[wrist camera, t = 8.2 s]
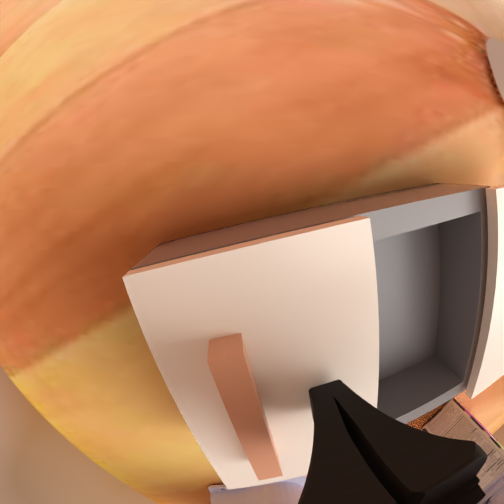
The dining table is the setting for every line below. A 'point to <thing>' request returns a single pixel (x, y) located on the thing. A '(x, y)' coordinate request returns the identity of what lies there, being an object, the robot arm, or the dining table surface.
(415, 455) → the robot arm
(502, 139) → the dining table surface
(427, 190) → the box
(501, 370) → the lid
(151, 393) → the dining table surface
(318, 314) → the lid
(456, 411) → the candy bar box
